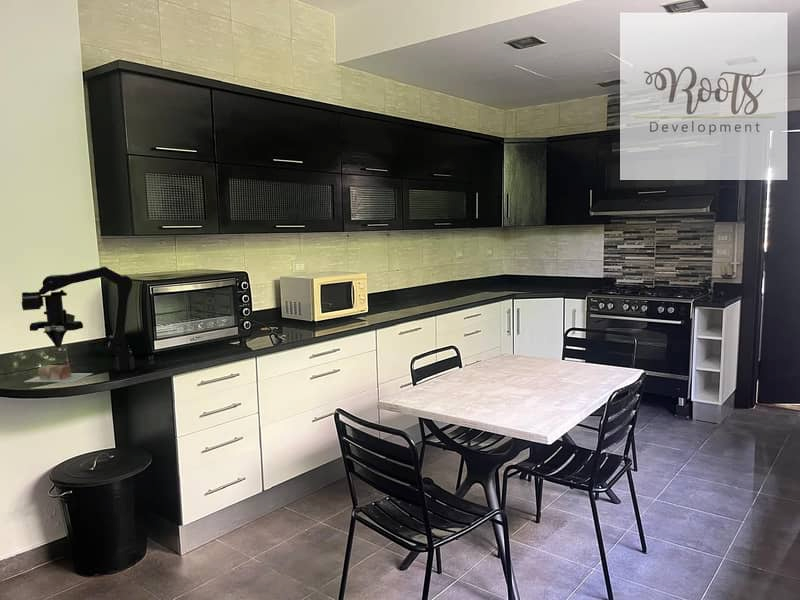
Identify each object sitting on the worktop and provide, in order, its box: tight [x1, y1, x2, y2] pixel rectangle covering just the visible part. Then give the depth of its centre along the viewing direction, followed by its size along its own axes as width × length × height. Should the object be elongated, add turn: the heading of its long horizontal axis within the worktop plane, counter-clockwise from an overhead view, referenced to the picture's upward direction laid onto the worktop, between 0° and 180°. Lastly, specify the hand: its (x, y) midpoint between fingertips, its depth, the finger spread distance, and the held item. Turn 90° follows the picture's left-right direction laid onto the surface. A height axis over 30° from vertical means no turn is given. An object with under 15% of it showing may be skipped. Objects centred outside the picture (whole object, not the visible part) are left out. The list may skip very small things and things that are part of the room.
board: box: [23, 372, 94, 383], centre depth 231 cm, size 20×13×1 cm, turn 83°
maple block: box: [38, 364, 72, 379], centre depth 230 cm, size 4×4×10 cm
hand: (58, 347), depth 229 cm, fingers closed
